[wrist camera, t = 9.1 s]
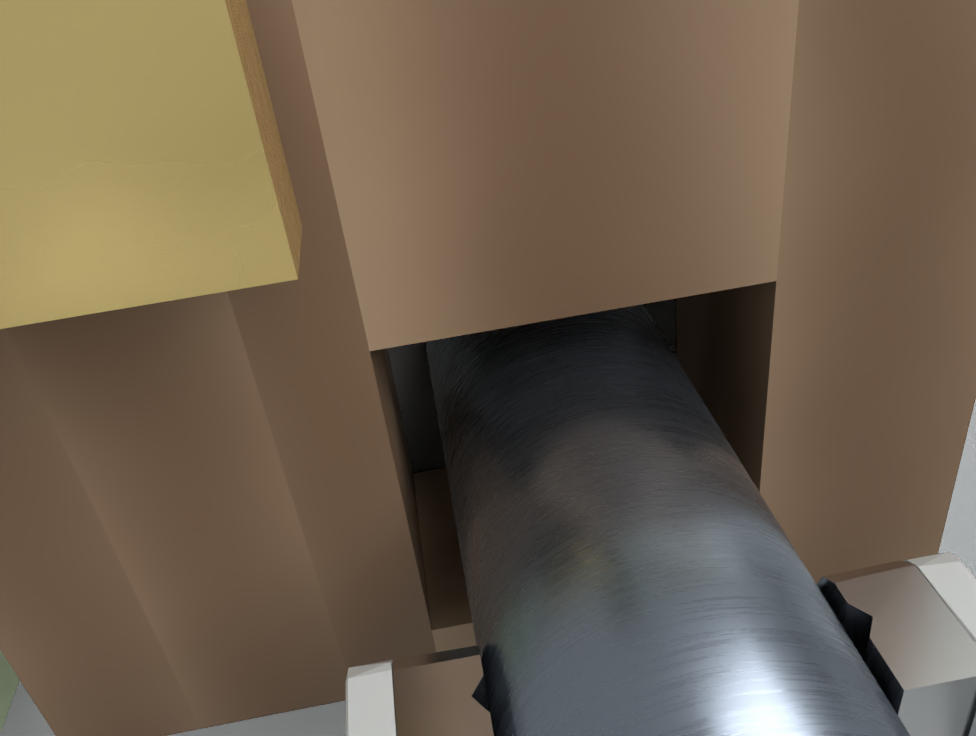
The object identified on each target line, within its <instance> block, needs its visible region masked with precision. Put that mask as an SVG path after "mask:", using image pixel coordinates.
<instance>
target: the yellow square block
mask: <svg viewBox="0 0 976 736" xmlns="http://www.w3.org/2000/svg"><path fill="white" fill-rule="evenodd" d="M301 236H302V223H301V219H300V215H299V211H298V207H297V203H296V199H295V195H294V191H293V187H292V183H291V179H290V175H289V171H288V167H287V163H286V159H285V155H284V151H283V147H282V143H281V139H280V135H279V131H278V127H277V123H276V119H275V115H274V111H273V107H272V103H271V99H270V95H269V91H268V87H267V83H266V79H265V75H264V71H263V67H262V63H261V59H260V55H259V51H258V47H257V43H256V39H255V35H254V31H253V27H252V23H251V19H250V15H249V11H248V7H247V3H246V0H0V329H4V328H10V327H16V326H22V325H28V324H34V323H40V322H46V321H52V320H58V319H64V318H70V317H76V316H82V315H88V314H94V313H100V312H106V311H112V310H118V309H124V308H130V307H136V306H142V305H148V304H154V303H160V302H166V301H172V300H178V299H183V298H189V297H195V296H201V295H207V294H213V293H219V292H225V291H231V290H237V289H243V288H249V287H255V286H261V285H267V284H273V283H279V282H285V281H291V280H297V279H298V273H299V261H300V248H301Z"/></svg>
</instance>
